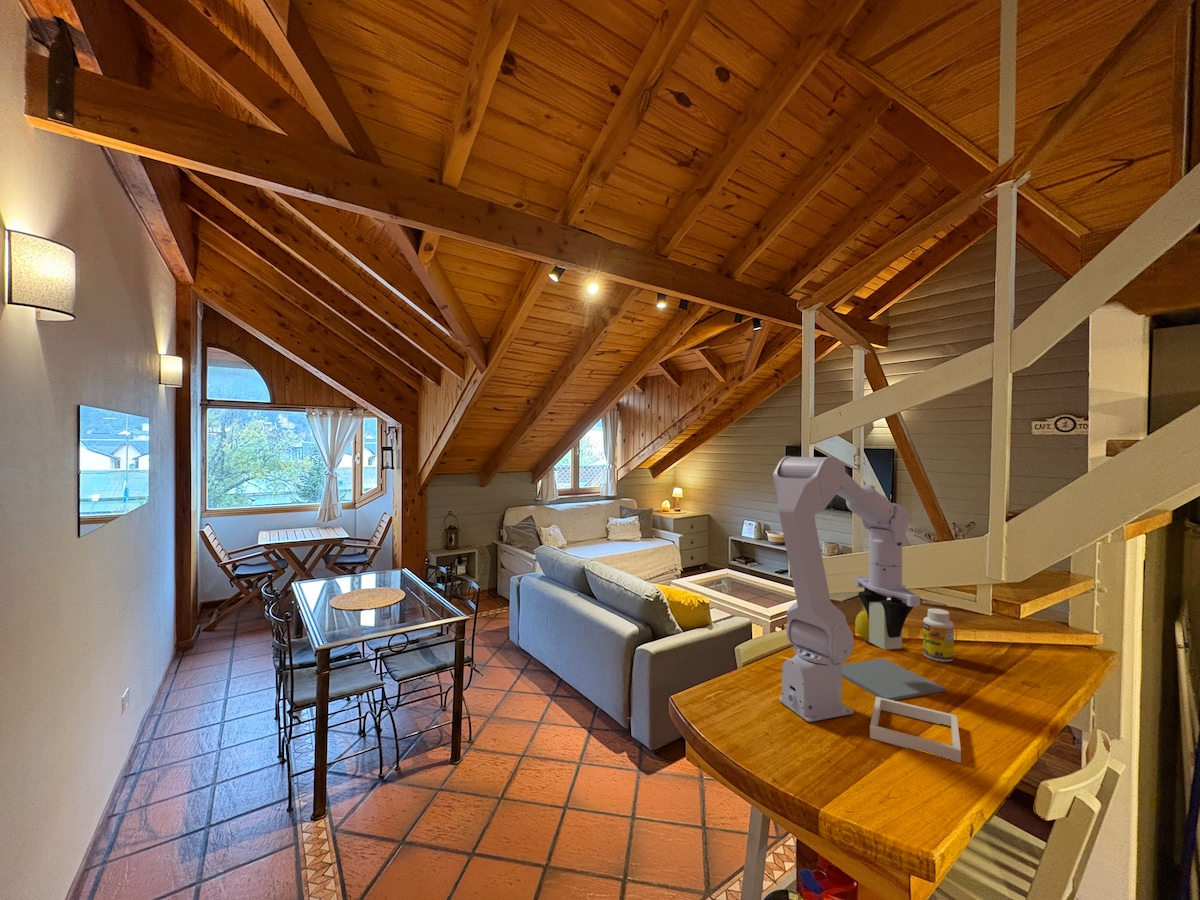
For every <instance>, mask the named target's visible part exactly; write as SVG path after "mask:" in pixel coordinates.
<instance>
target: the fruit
mask: <svg viewBox="0 0 1200 900" xmlns="http://www.w3.org/2000/svg"><path fill="white" fill-rule="evenodd" d="M854 622H855V623H854V624H855V629H856V632H857V633H858V634H859V635H860V637H862V638H863V639H864V640H865V641H866V642H867V643H870V642H869V619H868V615H867V612H866V609H865V610H862V611H860V612H859V613H858V614H857V615H856V618H855V621H854Z"/></svg>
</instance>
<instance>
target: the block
mask: <svg viewBox="0 0 1200 900" xmlns="http://www.w3.org/2000/svg"><path fill="white" fill-rule="evenodd" d="M868 643H871V644H873V645H874V646H876V647H879V648H880V649H883V650H885V651H886V650H894V649H902V648H903V630H902V631H901V634H900V637H894V638H891V637H889V636H888V632H887V620H886V614H885V611H884V608H883V605H882V603H881V601H874V602H869V642H868Z"/></svg>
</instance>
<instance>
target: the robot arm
mask: <svg viewBox="0 0 1200 900" xmlns="http://www.w3.org/2000/svg"><path fill="white" fill-rule="evenodd" d="M772 477H773V482H774V489H775V492H776V498H777V503H778V516H779V520H780V524H781V525H780V526H781V530H782V535H783V539H784V543H785V550H786V554H787V558H788V559H787V560H788V565H789V570H790V574H791V581H792V584H793V589H794V594H795V600H796V601H795V602H794V603H793V604H792V605H791V606H790V607H789V608H788V609H787V610H786V612H785V614H786V619H787V620H786V621H787V622H786V623H787V624H786V630H785V631H786V636H787V637H786V638H787V640H788V642H789V643H790V644H791V645H793V648H792V649H793V652H795V653H796V654H795V655H793V657H791V658H788V659H786V660H784V662H783V664H782V668H781V696H779V698H778V700H780V701H779V702H781V703H782V704H783V705H785V706H786V707H787V708H789V710H791V711H793V712H794V713H795V714H797V715H798V716H799V717H800V718H802V719H804V720H805V721H807V722H809V723H812V722H817V721H821V720H822V721H823V720H828V719H833V718H838V717H843V716H849V715H854V709H852V708H850V707H849V706H847V705H846V704H844V703H842V702H843V701H842V699H843V697H842V696H843V695H842V690H843V688H842V687H843V683H842V680H843V677H842V665H843V664H842V663H844V662H845V661H847V660H848V659H849V658H850V656H851V654H852V652H853V650H854V645H855V639H854V638H855V637H854V635H853V631H852V629H851V627H850V626H849V625H848V621H847V617H846V615H845V614H844V613H843V612H842V611H841V609H839V608H838V607H837V606H836V605H835V604H834V603H833V602H832V601H831V596H830V592H829V586H828V581H827V575H826V571H825V565H824V560H823V554H822V550H821V545H820V540H819V535H818V534H819V533H818V529H817V524H816V523H817V522H816V518H815V517H816V515H817V513H818V512H822V511H824V510H825V509H826V508H827V506H828V505H829V504H830V503H831V502H832V501H833V499H834V497H836V495H837V496H839V497H840V498H843V499H844V500H845V504H846V507H847V508H848V510H850V511H851V512H852V513H853V514H855V515H856V516H858V517H859V518H860V519H861V521H862V525H863V527H864V528H865V529H868V577H865V576H854V586H855V587H856V588H863V591H859V592H858V598H859V599H860V601H861V602H862V604H863V607H864V609H865V610H866V612H867V615H868V619H869V602H874V601H881V603H882V605H883V608H884V611H885V614H886V620H887V632H888V636H889V637H891V638H894V637H900V634H901V631H902V632H903V628H904V626H905V625H904V624H905V622H906V620H907V617H908V616H909V614H910V613H911V611H912V610H913V609H914V608H916V607H920V606H921V595H919V594H915V593H914V592H912V591H910V590H908V589H907V588H906V585H904V584H903V542H905V541H906V537H907V535H906V533H907V529H908V527H909V522H910V517H909V513H908V511H907V509H906V507H904V506H903V505H902V504H900V503H894V502H893V503H892V502H891V501H890V500H888V498H887V496H886V495H882V494H881V493H880V492H878V491H877V489H876V487H875V486H874V485H873V484H859V483H858V482H857V481H855V480H854V478H852V476H850V475H849V474H848V473H847V472H846V467H845V463H843V462H841V461H840V460H839V459H838V458H837V457H835V456H832V455H831V456H830V455H829V456H823V457H822V456H791V455H786V456H784V457H782V458H781V459H780V460H779V462H778V464H777V466H776V467H775V469H774V471H773V473H772ZM888 598H890V599H888Z"/></svg>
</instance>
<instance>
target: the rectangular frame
mask: <svg viewBox="0 0 1200 900" xmlns="http://www.w3.org/2000/svg"><path fill="white" fill-rule="evenodd" d="M881 711H883V712H888V713H892V714H896V715H900V716H904V717H909V718H912V719H917V720H920V721H924V722H928V723H933V724H937V725H940V724H945V725H949V726H951V727H950V730H951V731H950V732H952V733H951V742H952V745H951V744H947V743H943V742H941V741H935V740H932V739H928V738H924V737H920V736H916V735H913V734H909V733H905V732H901V731H898V730H894V729H889V728H888V727H887V728H886V727H882V726H879V722H880V716H881ZM871 715H872V716H871V720H870V724H869V739H871V740H872V739H873V740H876V741H879V742H883V743H886V744H890V745H894V746H897V747H901V748H905V749H908V748H910V749H909V750H911V749H918V750H922V751H925V752H928V753H932V754H934V755H936V756H935V757H937V756H940V757H943V758H942V759H944V758H946V759H945V760H948V759H950V760H949V761H951V760H952V761H953V762H956V763H958V764H959V763H960V764H961V763H962V749H961V748H962V747H961V740H960V731H959V724H958V715H956V714H953V713H949V712H944V711H940V710H935V709H932V708H927V707H923V706H919V705H914V704H910V703H905V702H901V701H898V700H894V701H893V700H889V699H885V698H881V697H878V696H876V697H875V700H874V706H873V710H872V713H871ZM940 757H939V758H940Z"/></svg>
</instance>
